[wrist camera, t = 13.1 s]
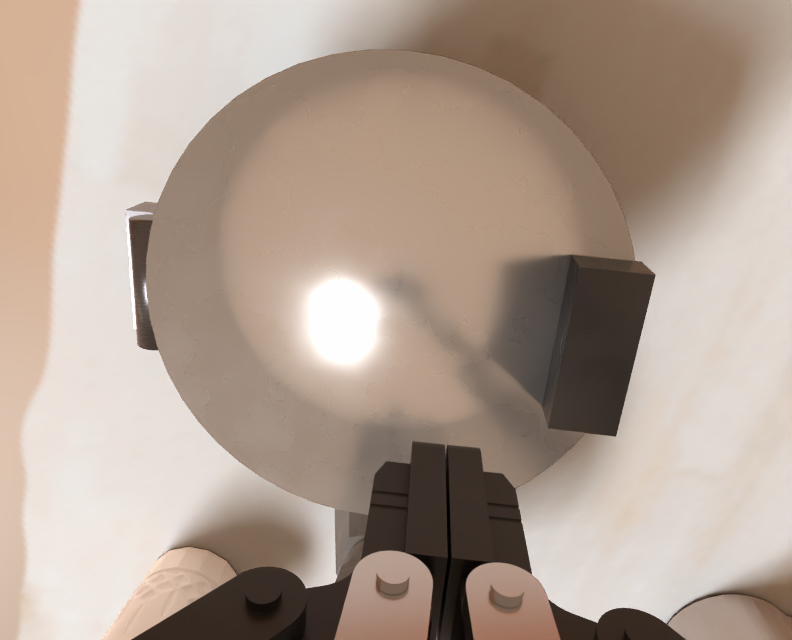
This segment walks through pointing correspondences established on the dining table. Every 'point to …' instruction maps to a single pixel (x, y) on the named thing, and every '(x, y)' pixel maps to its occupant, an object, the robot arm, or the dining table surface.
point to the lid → (389, 275)
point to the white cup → (169, 589)
